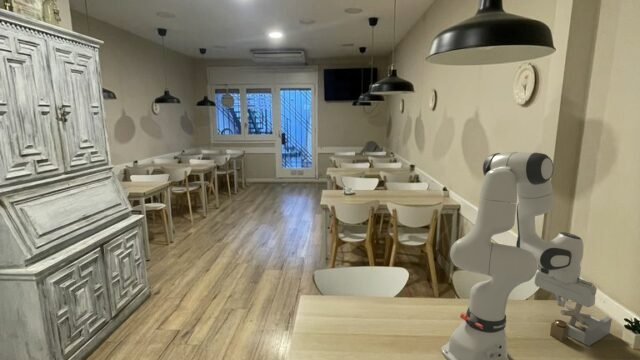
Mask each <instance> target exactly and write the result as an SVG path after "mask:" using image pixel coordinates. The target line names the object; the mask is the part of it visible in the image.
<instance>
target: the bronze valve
mask: <svg viewBox="0 0 640 360" xmlns="http://www.w3.org/2000/svg"><path fill="white" fill-rule="evenodd" d="M550 324H551V326H550V332H549V335H550V337H552V338H555V339H556V340H558V341H560V342H563V341H565V340H567V339H568V337H569V336H568V332H569V325H567V324H568V323H567V322H566V321H564V320H561V319H558V320H557V319H555V320H554V321H553V322H551V323H550Z"/></svg>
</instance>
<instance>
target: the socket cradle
mask: <svg viewBox="0 0 640 360" xmlns="http://www.w3.org/2000/svg"><path fill="white" fill-rule="evenodd" d="M580 312H581V313H584V312H583V311H580ZM583 319H584V320H585V321H586V322H587V324H586V325H585V326H588V327H586V328H585V331H583V330H580V329H579V328H577V327H575V326H574V327H573V326H571V325H569V323H567V325H569V332H568V337H570V338H572V339H573V340H576V341H578V342H580V343H582V344H584V345H585V346H588V347H589V346H591V345H592V344H595V343H596V342H597V341H599V340H601V339H603V338H604V337H605V336H607V335H609V334H610V332H611V327H612V326H611V325H612V320H613V318H612V317H610V316H605V317H603V318H602V319H599V318H597V317H594V316H592V315H591V318H590V319H589V318H583ZM556 320H559V319H558V318H556ZM577 321H578V322H579V320H578V319H577Z"/></svg>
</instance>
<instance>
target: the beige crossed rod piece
mask: <svg viewBox="0 0 640 360" xmlns="http://www.w3.org/2000/svg"><path fill="white" fill-rule="evenodd" d="M565 307H566V309H567V310H565V309H561V310H560V314H561V316H567V317H570V319H569V322H568V324H569V325H571V326H573V327H575V325H576V322H577V321H578V320H579V321H578V322H579V323H580V324H581V325H582V326H587V325H586V324H587V322H586V321H585V320H584V319H583V318H589V319H590V318H591V316H592V315H591V314H590V313H587V312H583V313H581V312H582V311H581V310H582V308H583V307H584V306H583V305H581V304H578V303H576V304H575V307H573V306H572V305H571V303H565ZM580 311H581V312H580ZM577 319H578V320H577Z"/></svg>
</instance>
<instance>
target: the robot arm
mask: <svg viewBox="0 0 640 360" xmlns="http://www.w3.org/2000/svg"><path fill="white" fill-rule="evenodd" d="M482 171H483V175H484V179H483V181H482V185H481V189H480V195H479V201H478V202H479V203H478V209H477V213H476V214H477V215H476V220H475V222H474V225H473V226H472V228H471V230H469V232H468V233H467V234H466V235H464V236H462V237H461V238H459V239H457V240H456V241H454V243H453V244H452V245H451V247H450V252H449V254H450V255H449V257H450V259H451V262H452V263H453V265H454V267H457V268H459V269H461V270H464V271H467V272H471V273H475V274H480V275H484V276H489V277H491V278H489V279H488V280H487V279H486V280H482V281H479V282H477V283H475V284H474V285H472V287H471V289H470V294H469V306H468V308H467V310H466V313H464V312H461V313H460V314H459V317H460V319H462V320H463V321H462V322H461V323H460V324H459V325H458V327H456V329H455V330H453V332H452V334H450V338H449V341H448V342H446V343H445V344H444V345H443V346H441V348H440V351H441V353H442V355H443V356H444V358H445V359H447V360H510V359H509V357H508V338H507V335H506V330H505V328H506V324H507V315H506V308H507V303H508V299H509V297H510V295H511V292H512V291H513V290H514V289H515V288H516V287H518V286H520V285H521V284H524V283H526V282H529V281H530V280H532V279H533V278H534V285H535V287H537V288H540V289H542V290H545V291H547V292H549V293H551V294H554V295H555V299H556V301H557V305H556V306H559V307H561V308H565V307H566V304H567V302H568V301H571V302H573V303H576V304H577V303H578V304H581V305H583V306H582V307H585V308H591V307H593V306H594V305H595V304H596V294H597V287H596V286H595V285H594V284H593V282H591V281H587V280H585V279H583V278H581V277H580V276H581V269H582V267H581V262H582V260H583V256H584V241H583V239H582V238H581V237H580V236H577V235H576V234H573V233H570V232H564V231H562V232H559V233H558V235H557V236H556V237H554V238H553V239H551V240H549V241H547V240H545V239H543V238H541V236H539V235H538V234H537V232H536V217H538V216H542V215H544V214H546V213H549V212H550V211H552V209H553V207H554V205H555V195H554V189H553V184H552V181H551V178H552V176H553V174H554V162H553V160H552V159H551V157H550V156H548V155H547V154H545V153H542V152H521V151H520V152H519V151H511V152H509V151H508V152H502V153H500V152H497V153H492V154H490V155H488V156H487V157H486V158H485V160H484V162H483V165H482ZM517 202H518V203H517ZM515 220H516V221H515ZM515 222H517V223H516V224H517V239H516V245H508V244H500V243H497V242H496V243H495V242H492V241H491V239H492V238H493V236H495V235H499V234H503V233H505V232H508V231H511V230H512V229H513V228H514V226H515Z"/></svg>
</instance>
